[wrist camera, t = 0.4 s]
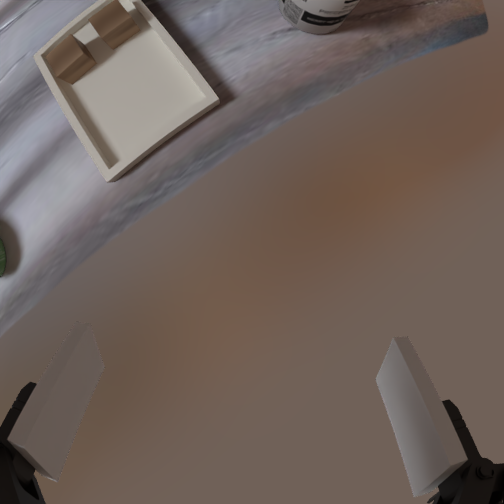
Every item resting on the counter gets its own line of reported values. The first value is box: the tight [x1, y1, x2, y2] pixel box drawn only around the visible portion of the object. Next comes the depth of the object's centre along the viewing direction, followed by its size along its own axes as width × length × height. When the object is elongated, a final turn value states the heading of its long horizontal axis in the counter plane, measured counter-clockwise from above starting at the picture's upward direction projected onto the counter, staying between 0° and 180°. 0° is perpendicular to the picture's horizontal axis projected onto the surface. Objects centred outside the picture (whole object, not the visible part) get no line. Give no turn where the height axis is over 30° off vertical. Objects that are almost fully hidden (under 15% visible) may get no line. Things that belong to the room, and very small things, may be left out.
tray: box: [33, 0, 220, 183], centre depth 29 cm, size 22×15×2 cm
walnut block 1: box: [46, 34, 97, 85], centre depth 27 cm, size 4×4×4 cm
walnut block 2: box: [88, 0, 141, 50], centre depth 26 cm, size 4×4×4 cm
